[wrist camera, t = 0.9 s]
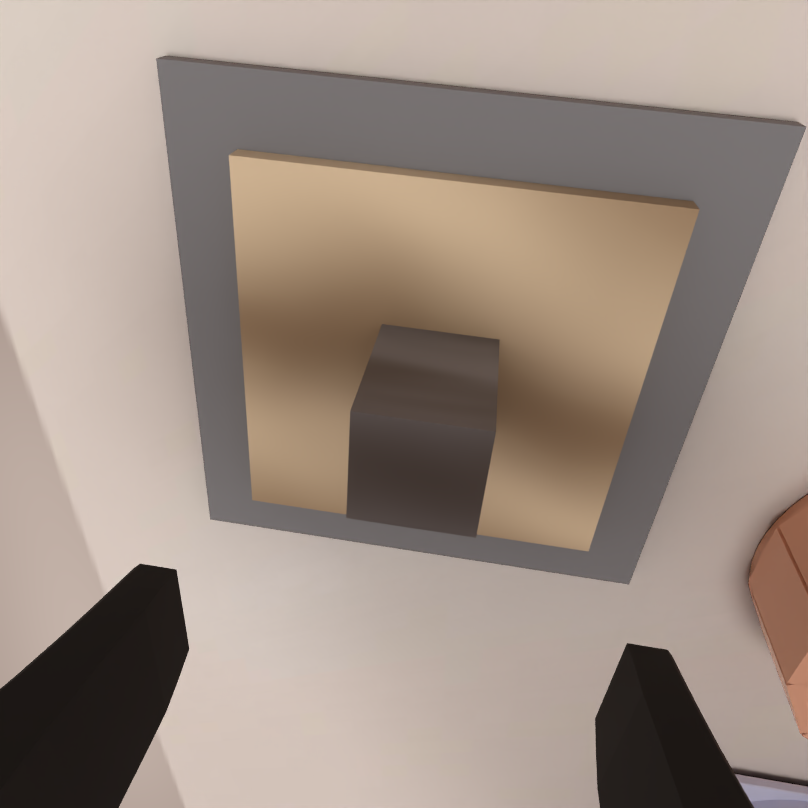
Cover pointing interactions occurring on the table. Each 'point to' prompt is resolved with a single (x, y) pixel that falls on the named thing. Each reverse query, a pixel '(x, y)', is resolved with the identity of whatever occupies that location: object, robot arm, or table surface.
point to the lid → (445, 341)
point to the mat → (483, 157)
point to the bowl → (785, 603)
